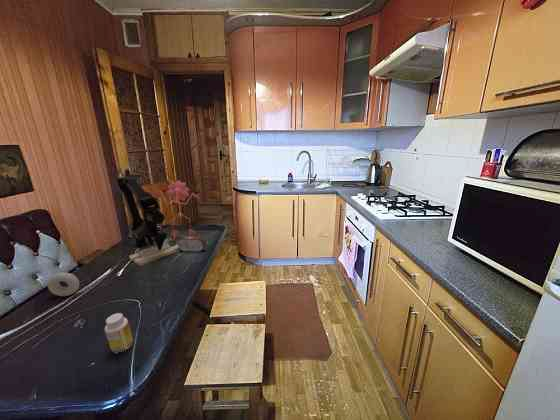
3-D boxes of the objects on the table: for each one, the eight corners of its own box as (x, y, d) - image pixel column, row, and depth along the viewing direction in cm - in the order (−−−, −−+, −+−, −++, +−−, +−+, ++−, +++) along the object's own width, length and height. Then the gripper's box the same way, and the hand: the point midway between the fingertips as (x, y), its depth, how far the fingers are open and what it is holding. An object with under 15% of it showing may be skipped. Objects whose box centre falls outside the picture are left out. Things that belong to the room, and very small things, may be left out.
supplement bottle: (129, 335, 73) (122, 308, 70) (136, 344, 70) (128, 316, 67) (108, 347, 69) (99, 319, 66) (114, 358, 66) (105, 328, 63)
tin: (207, 250, 128) (205, 235, 125) (204, 252, 125) (202, 238, 122) (180, 249, 129) (178, 235, 127) (177, 252, 126) (175, 237, 124)
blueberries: (92, 315, 83) (90, 310, 83) (98, 324, 78) (96, 319, 78) (67, 326, 79) (66, 321, 78) (72, 337, 73) (70, 332, 73)
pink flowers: (204, 239, 141) (196, 181, 131) (159, 242, 138) (148, 183, 129) (209, 230, 156) (202, 177, 146) (168, 233, 153) (159, 179, 143)
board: (129, 258, 121) (128, 255, 120) (170, 243, 137) (170, 240, 137) (140, 266, 113) (139, 263, 113) (182, 249, 129) (182, 246, 129)
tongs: (173, 243, 133) (172, 236, 132) (176, 244, 131) (175, 238, 130) (138, 256, 120) (137, 249, 119) (141, 258, 118) (140, 250, 116)
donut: (84, 290, 96) (77, 269, 93) (79, 295, 93) (72, 273, 90) (55, 294, 94) (47, 272, 91) (49, 300, 91) (41, 277, 88)
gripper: (125, 220, 119) (131, 248, 124) (141, 228, 108) (147, 259, 113) (148, 215, 127) (153, 241, 132) (165, 221, 116) (170, 250, 121)
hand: (155, 247), depth 124 cm, fingers open, 9 cm apart
